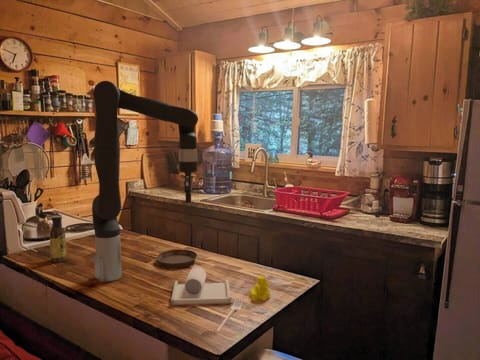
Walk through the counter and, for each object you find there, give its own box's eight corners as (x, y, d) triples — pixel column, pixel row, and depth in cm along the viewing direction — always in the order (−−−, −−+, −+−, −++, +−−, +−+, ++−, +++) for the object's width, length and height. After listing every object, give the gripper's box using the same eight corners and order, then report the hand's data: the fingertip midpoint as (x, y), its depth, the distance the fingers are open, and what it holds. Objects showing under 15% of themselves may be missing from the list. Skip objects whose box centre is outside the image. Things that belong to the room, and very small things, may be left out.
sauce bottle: (64, 262, 168) (61, 218, 165) (48, 263, 167) (46, 218, 164) (68, 257, 174) (66, 214, 171) (53, 258, 173) (51, 215, 170)
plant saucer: (167, 272, 158) (167, 265, 157) (150, 260, 172) (150, 253, 171) (204, 264, 168) (204, 257, 167) (185, 253, 182) (185, 246, 182)
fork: (212, 333, 113) (212, 327, 112) (235, 302, 131) (235, 297, 131) (222, 335, 112) (222, 329, 111) (244, 304, 130) (244, 298, 130)
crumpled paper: (246, 298, 134) (246, 277, 133) (259, 290, 140) (260, 270, 139) (259, 303, 131) (260, 281, 129) (273, 295, 137) (273, 274, 136)
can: (204, 284, 147) (200, 297, 135) (187, 280, 147) (182, 293, 135) (208, 268, 146) (204, 280, 134) (191, 264, 146) (186, 275, 134)
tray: (175, 285, 144) (175, 280, 144) (228, 283, 146) (228, 279, 146) (171, 305, 128) (170, 300, 128) (230, 303, 130) (230, 298, 130)
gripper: (196, 161, 149) (196, 205, 151) (198, 158, 162) (198, 199, 164) (177, 161, 149) (177, 205, 151) (180, 158, 162) (180, 199, 164)
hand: (188, 202), depth 158 cm, fingers closed
